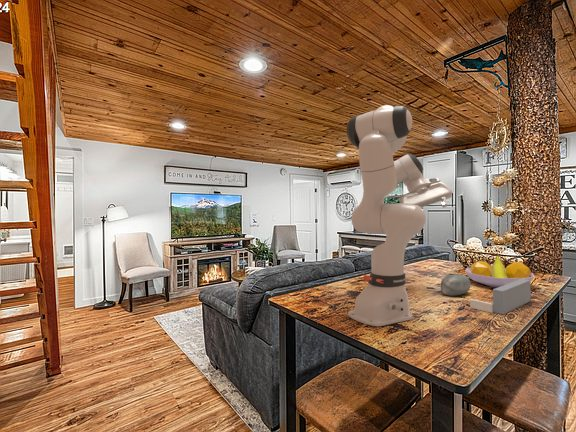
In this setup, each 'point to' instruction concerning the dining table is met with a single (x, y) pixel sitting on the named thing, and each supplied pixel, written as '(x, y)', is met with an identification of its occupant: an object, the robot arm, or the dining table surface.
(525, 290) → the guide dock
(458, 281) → the grey stone
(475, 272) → the fruit bowl
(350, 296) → the dining table surface
